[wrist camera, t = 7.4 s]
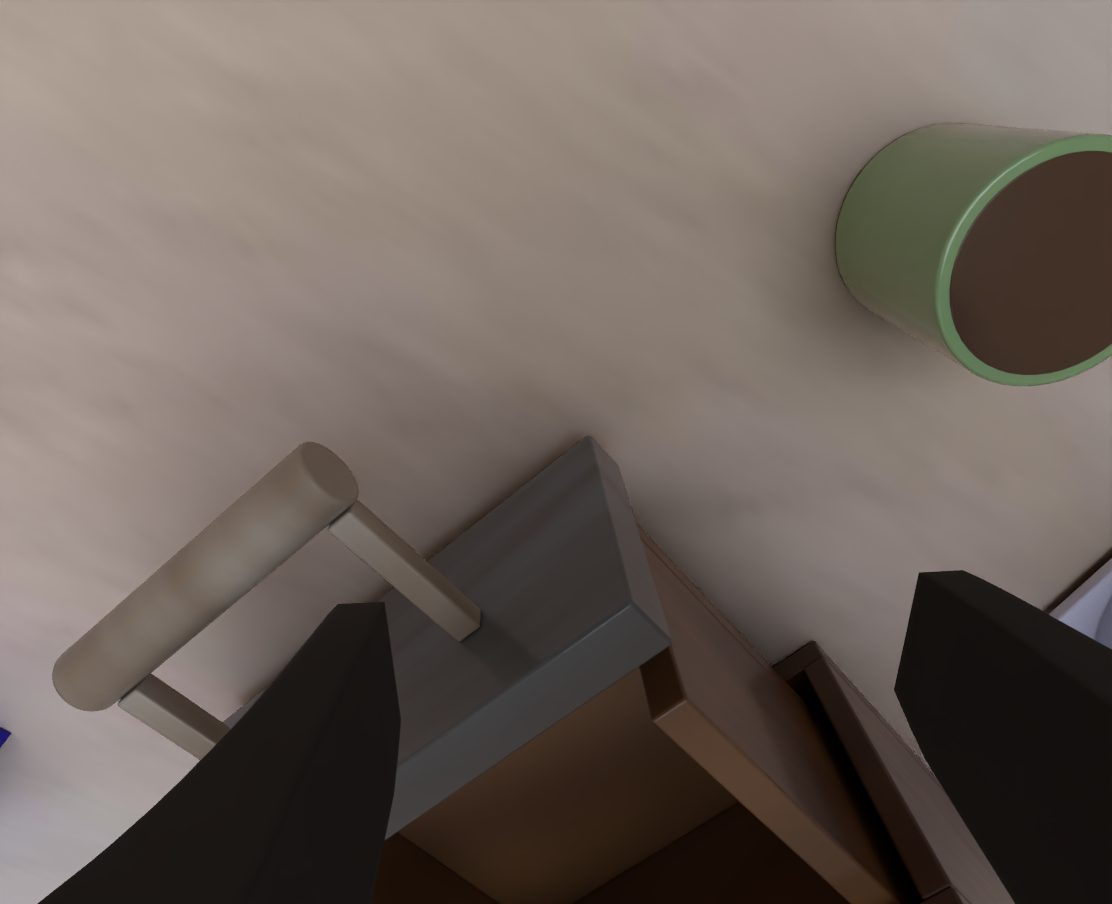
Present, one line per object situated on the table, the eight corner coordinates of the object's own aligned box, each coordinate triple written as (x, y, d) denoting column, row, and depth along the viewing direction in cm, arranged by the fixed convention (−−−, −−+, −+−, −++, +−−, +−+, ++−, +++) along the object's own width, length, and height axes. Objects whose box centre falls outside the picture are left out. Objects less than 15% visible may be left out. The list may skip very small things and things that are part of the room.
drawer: (65, 616, 20) (-128, 851, 14) (446, 276, 17) (414, 384, 11) (516, 925, 26) (520, 1180, 20) (851, 719, 23) (976, 945, 17)
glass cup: (933, 78, 16) (1081, 75, 12) (1064, 201, 18) (1238, 236, 14) (795, 252, 18) (884, 303, 14) (924, 354, 19) (1043, 429, 15)
